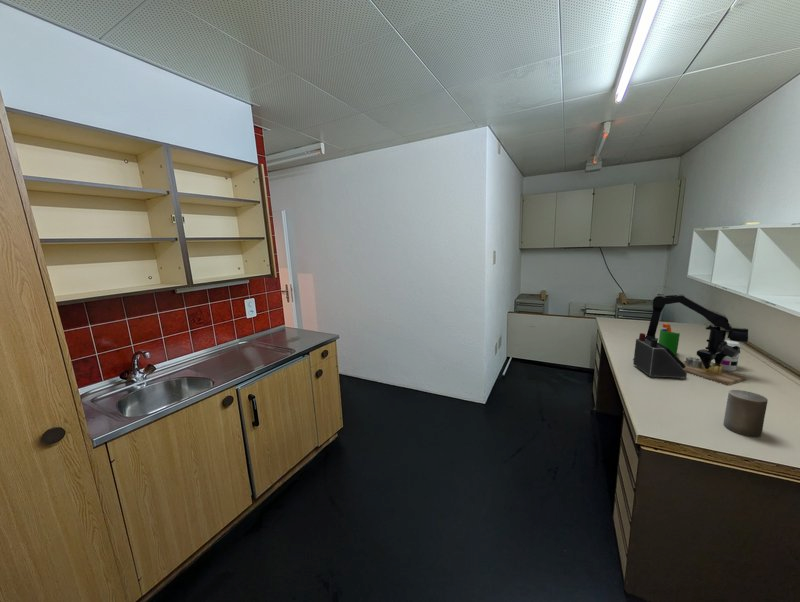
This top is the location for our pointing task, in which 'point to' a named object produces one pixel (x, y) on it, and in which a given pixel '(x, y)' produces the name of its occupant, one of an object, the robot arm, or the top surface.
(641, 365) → the voltmeter
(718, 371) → the brass gear
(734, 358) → the supplement can
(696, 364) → the steel gear
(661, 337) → the motor
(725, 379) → the board
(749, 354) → the top surface
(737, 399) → the pillar candle
